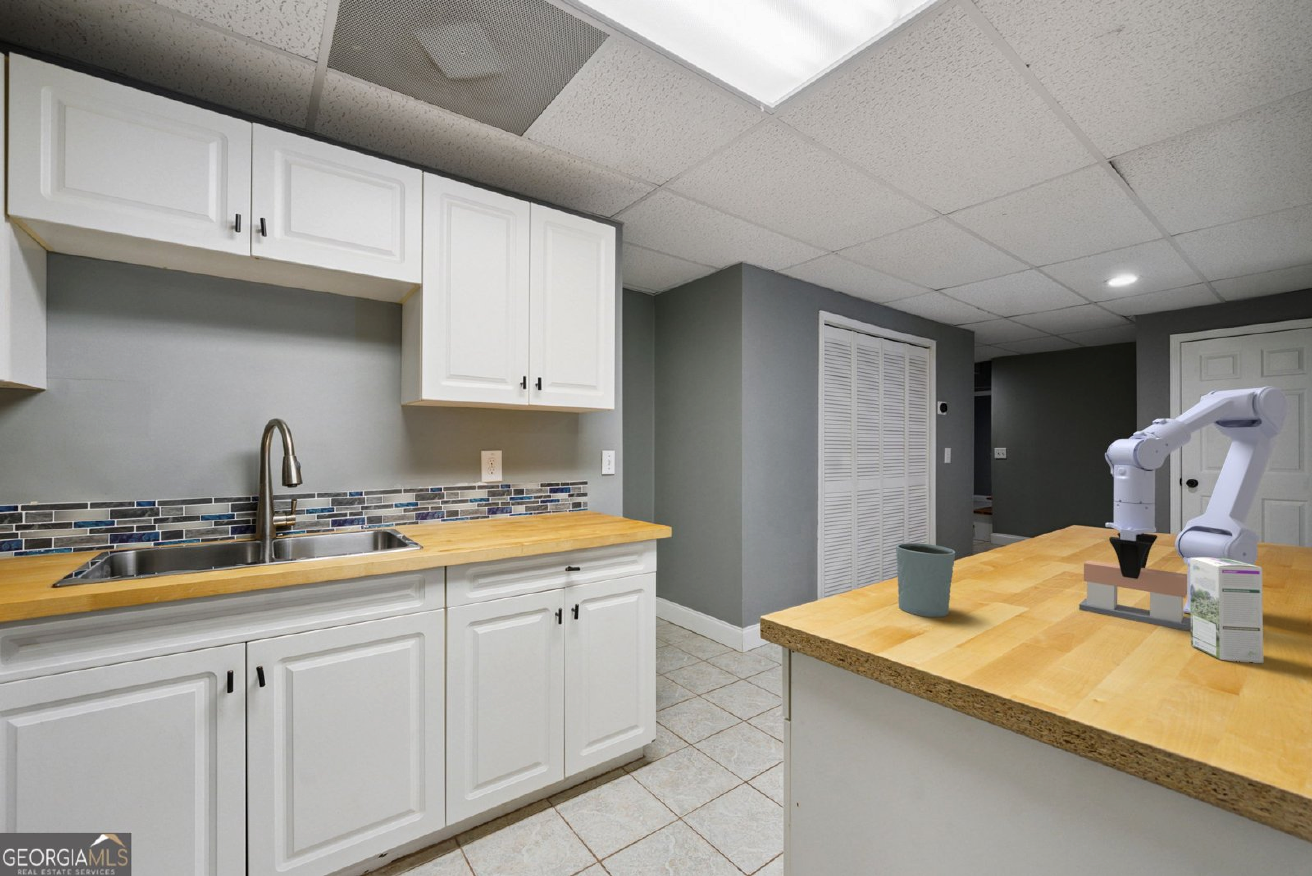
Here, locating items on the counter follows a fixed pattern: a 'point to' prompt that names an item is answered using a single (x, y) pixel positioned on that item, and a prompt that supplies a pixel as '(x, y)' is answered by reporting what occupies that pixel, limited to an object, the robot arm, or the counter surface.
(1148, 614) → the arch base
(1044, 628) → the counter surface
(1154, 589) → the beam
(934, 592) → the grey green cup
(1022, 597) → the counter surface
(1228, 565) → the syrup box
